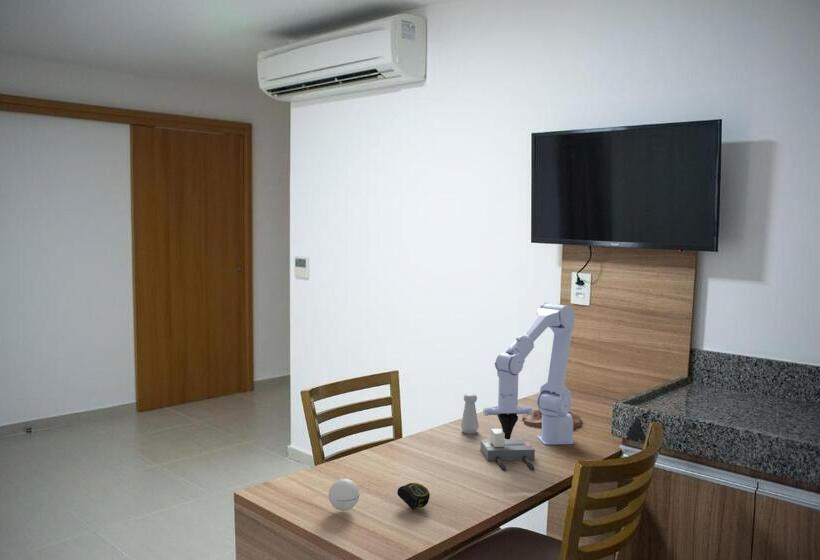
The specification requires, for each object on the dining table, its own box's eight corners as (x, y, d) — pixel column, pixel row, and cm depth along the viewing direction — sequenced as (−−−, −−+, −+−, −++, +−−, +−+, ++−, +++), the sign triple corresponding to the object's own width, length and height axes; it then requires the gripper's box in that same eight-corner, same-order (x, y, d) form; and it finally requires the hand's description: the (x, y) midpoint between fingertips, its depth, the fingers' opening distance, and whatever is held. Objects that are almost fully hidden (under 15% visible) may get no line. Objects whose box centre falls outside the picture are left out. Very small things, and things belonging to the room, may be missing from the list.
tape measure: (394, 497, 165) (397, 483, 164) (417, 493, 169) (420, 479, 168) (409, 513, 159) (413, 499, 159) (432, 508, 163) (436, 495, 162)
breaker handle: (500, 441, 204) (500, 428, 204) (504, 446, 199) (504, 433, 199) (490, 441, 204) (490, 428, 204) (494, 446, 199) (494, 433, 199)
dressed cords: (526, 459, 198) (526, 455, 198) (535, 470, 189) (535, 465, 189) (495, 459, 197) (495, 455, 197) (502, 470, 188) (502, 466, 188)
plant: (586, 420, 241) (587, 389, 241) (574, 434, 224) (576, 401, 223) (531, 413, 250) (532, 383, 249) (516, 426, 232) (517, 394, 232)
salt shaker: (478, 430, 226) (479, 392, 225) (478, 436, 220) (479, 396, 219) (461, 430, 226) (461, 391, 225) (460, 435, 221) (461, 396, 220)
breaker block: (525, 448, 208) (525, 438, 208) (534, 459, 198) (534, 449, 198) (480, 449, 206) (480, 439, 206) (487, 460, 196) (487, 450, 196)
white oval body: (327, 516, 157) (328, 485, 156) (328, 503, 164) (328, 474, 163) (371, 515, 158) (371, 484, 157) (369, 502, 165) (370, 473, 164)
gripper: (526, 389, 206) (525, 433, 207) (480, 390, 203) (479, 435, 204) (535, 395, 199) (533, 440, 200) (487, 396, 196) (486, 442, 197)
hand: (507, 438), depth 202 cm, fingers closed
